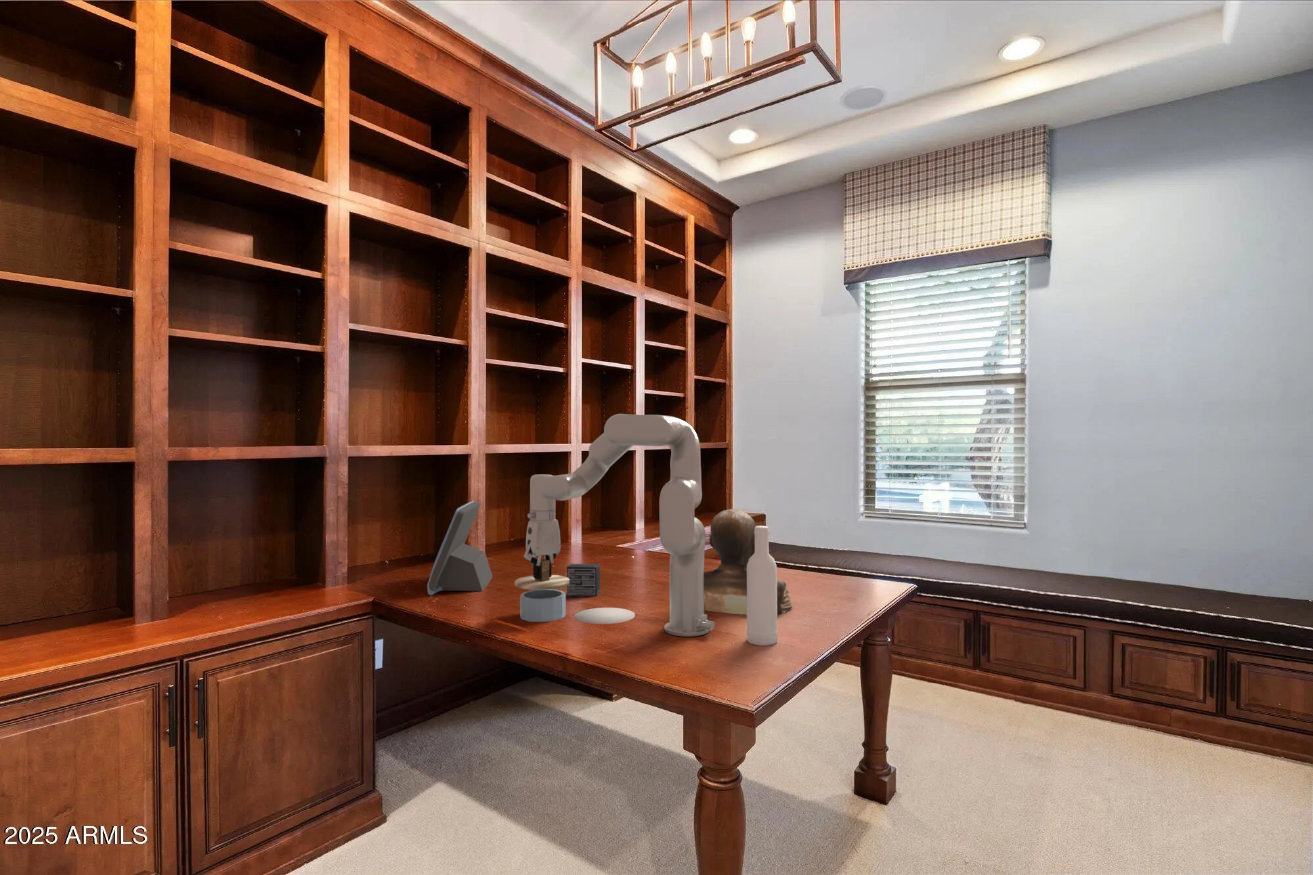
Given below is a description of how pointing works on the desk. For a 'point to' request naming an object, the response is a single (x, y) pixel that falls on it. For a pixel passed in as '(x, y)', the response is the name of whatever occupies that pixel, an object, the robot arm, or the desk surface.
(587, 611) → the mat
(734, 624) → the desk surface
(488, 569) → the touchscreen device
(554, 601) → the bowl
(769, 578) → the bottle
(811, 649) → the desk surface
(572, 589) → the small box
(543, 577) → the lid
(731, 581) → the portrait bust
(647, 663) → the desk surface
